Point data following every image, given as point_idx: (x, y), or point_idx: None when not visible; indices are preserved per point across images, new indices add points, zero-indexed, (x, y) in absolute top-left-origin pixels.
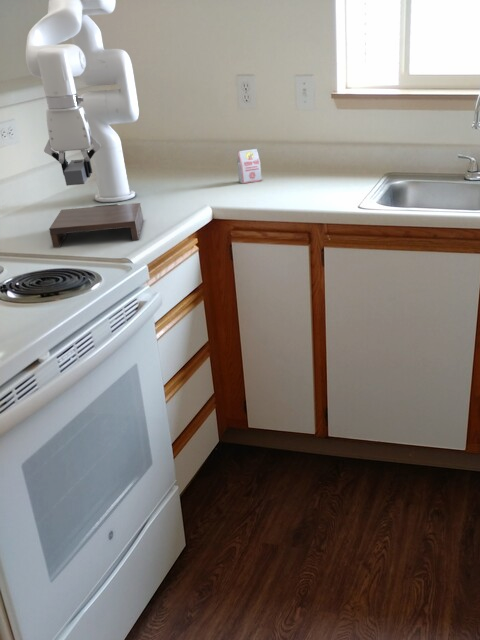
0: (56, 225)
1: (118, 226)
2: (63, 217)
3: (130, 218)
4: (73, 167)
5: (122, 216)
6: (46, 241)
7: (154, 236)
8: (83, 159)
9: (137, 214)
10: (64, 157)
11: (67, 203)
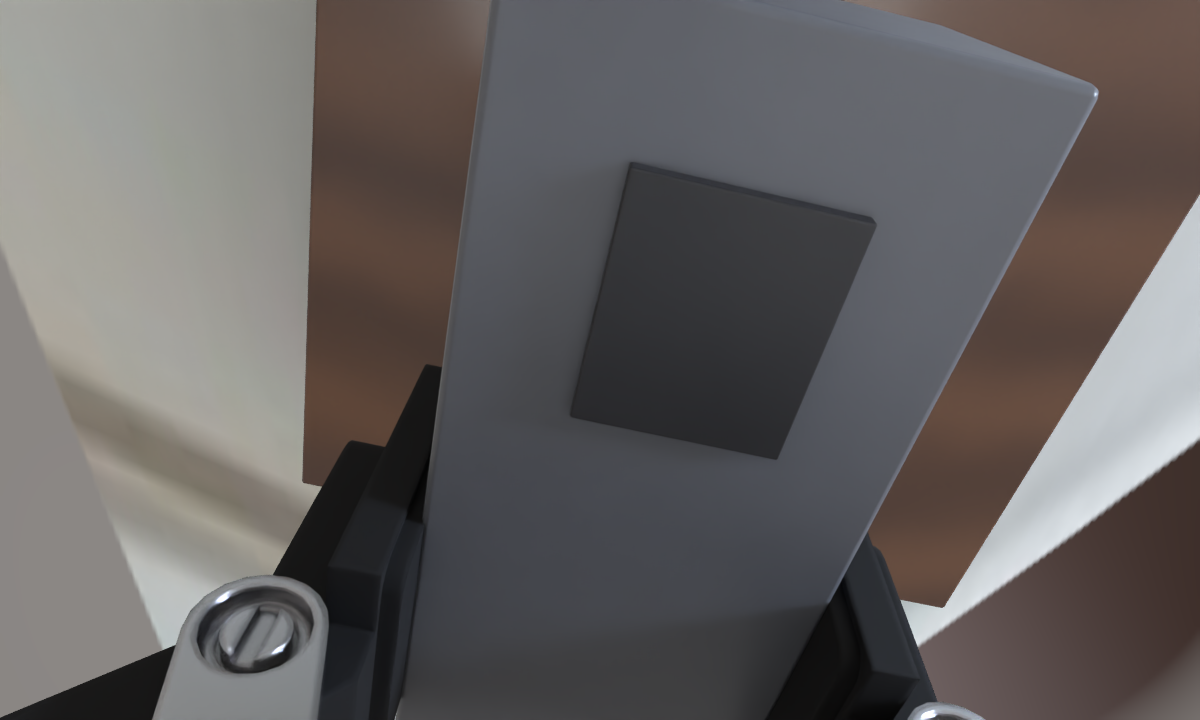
0: (351, 427)
1: None
2: (389, 183)
3: (945, 532)
4: None
5: (912, 447)
6: (274, 215)
7: (1024, 488)
8: (924, 99)
9: (1060, 407)
10: (303, 716)
11: None
